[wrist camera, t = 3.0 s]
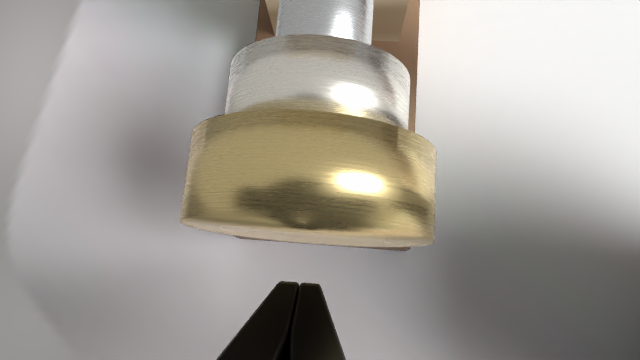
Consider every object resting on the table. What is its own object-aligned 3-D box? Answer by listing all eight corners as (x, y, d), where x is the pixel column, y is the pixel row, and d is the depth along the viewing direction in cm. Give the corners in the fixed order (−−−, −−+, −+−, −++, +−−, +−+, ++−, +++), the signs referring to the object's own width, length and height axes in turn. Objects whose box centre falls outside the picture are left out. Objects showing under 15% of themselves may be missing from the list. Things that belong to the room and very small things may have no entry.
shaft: (412, 251, 12) (464, 231, 7) (218, 236, 12) (133, 206, 7) (423, -44, 14) (470, -228, 9) (253, -50, 14) (204, -232, 9)
